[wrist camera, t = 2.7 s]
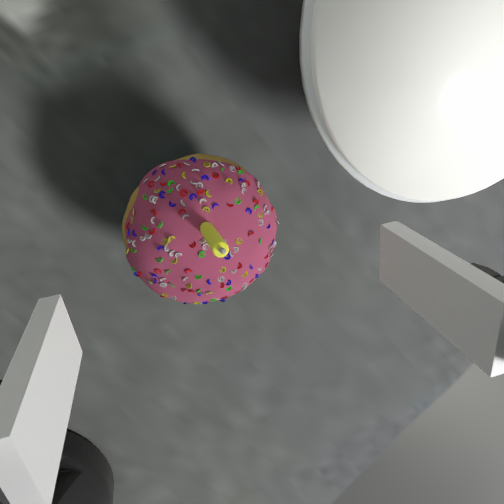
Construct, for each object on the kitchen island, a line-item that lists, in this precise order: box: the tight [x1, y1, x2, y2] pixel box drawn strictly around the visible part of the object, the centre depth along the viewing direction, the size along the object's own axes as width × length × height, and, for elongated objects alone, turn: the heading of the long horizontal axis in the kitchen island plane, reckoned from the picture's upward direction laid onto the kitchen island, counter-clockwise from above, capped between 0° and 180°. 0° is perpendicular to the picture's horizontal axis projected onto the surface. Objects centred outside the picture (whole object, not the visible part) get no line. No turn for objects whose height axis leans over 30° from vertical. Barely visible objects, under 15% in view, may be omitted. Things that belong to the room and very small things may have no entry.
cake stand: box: [299, 0, 504, 202], centre depth 22 cm, size 17×17×7 cm
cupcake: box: [122, 153, 279, 304], centre depth 21 cm, size 9×8×12 cm
